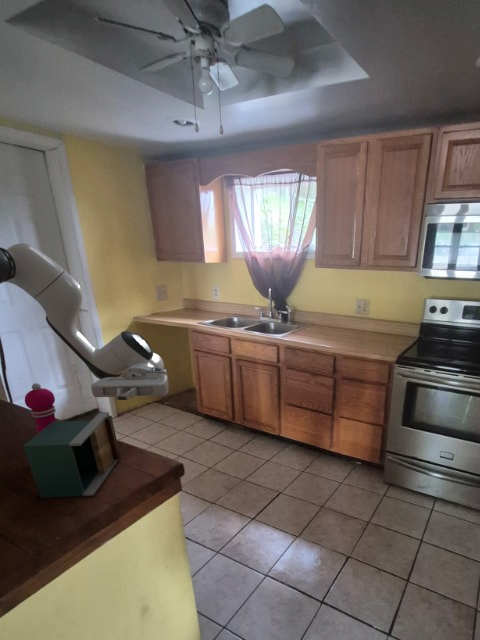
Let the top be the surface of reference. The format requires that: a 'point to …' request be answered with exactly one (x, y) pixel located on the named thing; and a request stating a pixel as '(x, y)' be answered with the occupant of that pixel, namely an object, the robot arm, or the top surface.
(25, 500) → the top surface
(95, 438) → the sliding door
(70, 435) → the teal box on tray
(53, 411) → the pepper mill
